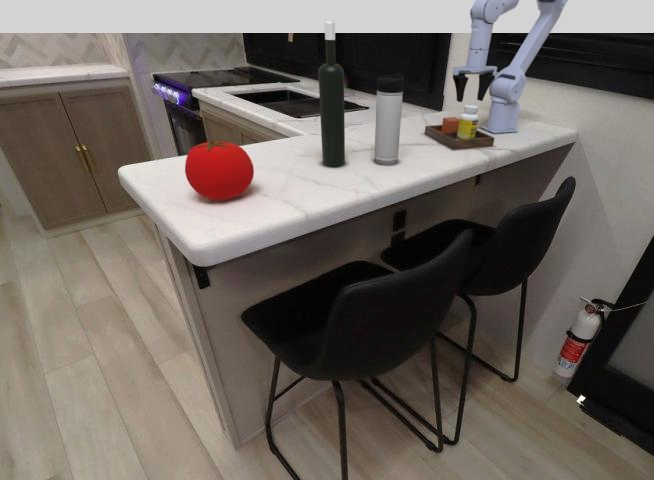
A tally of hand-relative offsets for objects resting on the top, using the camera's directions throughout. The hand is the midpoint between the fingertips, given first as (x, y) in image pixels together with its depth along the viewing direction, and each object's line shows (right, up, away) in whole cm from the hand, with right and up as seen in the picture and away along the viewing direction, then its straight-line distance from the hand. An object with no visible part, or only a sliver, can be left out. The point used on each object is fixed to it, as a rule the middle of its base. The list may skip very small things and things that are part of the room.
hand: (469, 100), depth 119 cm
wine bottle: (-41, -27, -21) cm, 53 cm away
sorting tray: (-4, -12, 0) cm, 13 cm away
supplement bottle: (-2, -14, -3) cm, 15 cm away
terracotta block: (-5, -9, +3) cm, 11 cm away
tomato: (-62, -41, -38) cm, 84 cm away
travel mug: (-27, -26, -18) cm, 42 cm away
